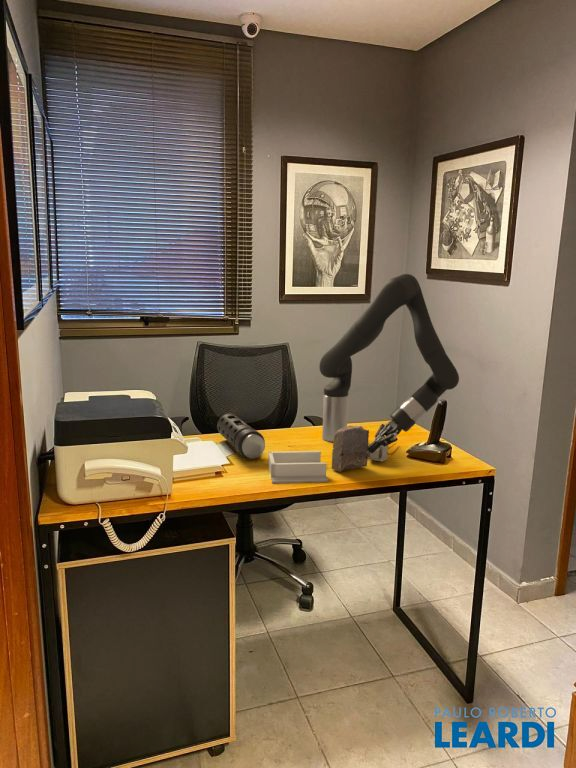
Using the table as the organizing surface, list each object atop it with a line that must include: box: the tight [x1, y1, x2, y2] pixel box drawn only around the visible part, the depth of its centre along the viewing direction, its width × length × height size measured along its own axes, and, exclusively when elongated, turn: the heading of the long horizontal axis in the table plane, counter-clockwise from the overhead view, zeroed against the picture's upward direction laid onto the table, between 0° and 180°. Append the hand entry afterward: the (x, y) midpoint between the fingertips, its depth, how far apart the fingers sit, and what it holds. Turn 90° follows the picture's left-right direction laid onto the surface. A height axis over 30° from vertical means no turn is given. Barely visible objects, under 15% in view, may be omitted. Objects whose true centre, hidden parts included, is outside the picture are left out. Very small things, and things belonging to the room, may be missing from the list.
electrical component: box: [368, 442, 400, 462], centre depth 202 cm, size 24×6×5 cm, turn 155°
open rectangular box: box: [267, 450, 329, 484], centre depth 181 cm, size 16×17×4 cm
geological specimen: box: [331, 425, 370, 473], centre depth 184 cm, size 11×6×15 cm, turn 120°
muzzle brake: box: [216, 413, 266, 459], centre depth 202 cm, size 10×28×10 cm, turn 23°
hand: (369, 450), depth 185 cm, fingers closed
